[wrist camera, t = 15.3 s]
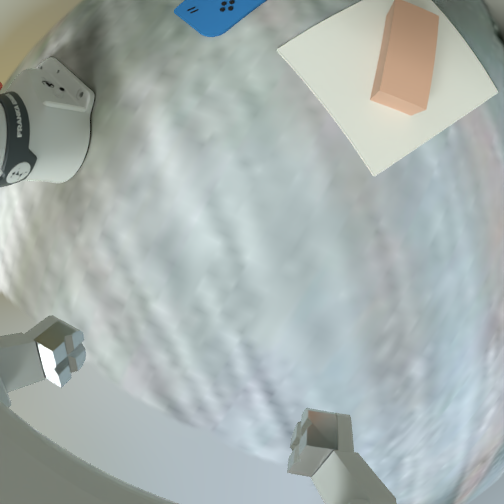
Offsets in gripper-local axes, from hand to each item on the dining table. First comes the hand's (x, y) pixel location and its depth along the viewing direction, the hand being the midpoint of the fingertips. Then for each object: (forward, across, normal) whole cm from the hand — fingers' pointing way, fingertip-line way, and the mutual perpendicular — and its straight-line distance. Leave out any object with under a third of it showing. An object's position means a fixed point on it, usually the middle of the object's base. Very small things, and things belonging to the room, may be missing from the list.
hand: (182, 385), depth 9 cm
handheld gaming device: (+28, +11, -28) cm, 41 cm away
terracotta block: (+24, -10, -16) cm, 30 cm away
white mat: (+27, -10, -22) cm, 36 cm away
